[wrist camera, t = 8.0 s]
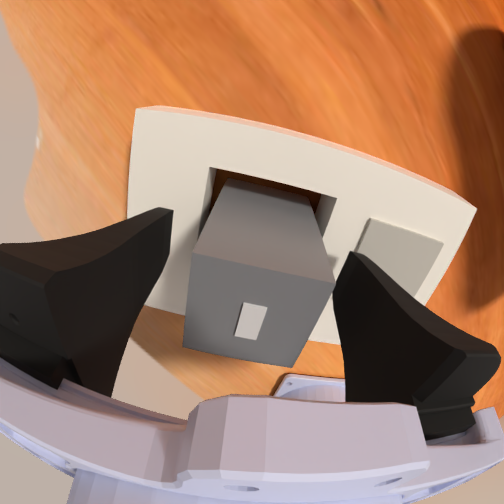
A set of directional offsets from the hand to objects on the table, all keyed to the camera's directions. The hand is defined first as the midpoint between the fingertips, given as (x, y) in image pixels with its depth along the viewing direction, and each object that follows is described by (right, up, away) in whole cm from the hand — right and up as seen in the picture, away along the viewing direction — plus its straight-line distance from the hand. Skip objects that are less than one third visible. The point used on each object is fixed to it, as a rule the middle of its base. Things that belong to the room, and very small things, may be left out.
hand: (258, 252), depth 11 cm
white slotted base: (+2, +1, +3) cm, 4 cm away
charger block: (0, +1, +3) cm, 4 cm away
